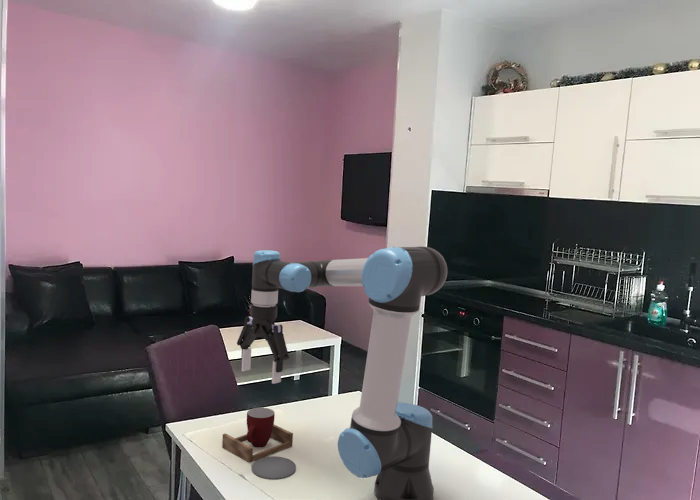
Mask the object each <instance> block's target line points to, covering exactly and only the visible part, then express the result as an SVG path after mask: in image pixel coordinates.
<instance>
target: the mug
mask: <svg viewBox="0 0 700 500" xmlns="http://www.w3.org/2000/svg"><path fill="white" fill-rule="evenodd" d="M275 414H276V413H275V411H274V410H273V409H271V408H269V407H268V408H267V407H253V408H251V409H248V411H247V413H246V427H247V430H246V431H247V433H246V434H247V440H246V441H247V442H248V443H251V446H252V448H255V449H263V448H265V447H266V446H267V445H268V443H269V441H270V439H271V438H270V437H271V434H272V429H273V425H275Z"/></svg>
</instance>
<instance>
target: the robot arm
mask: <svg viewBox="0 0 700 500" xmlns="http://www.w3.org/2000/svg"><path fill="white" fill-rule="evenodd" d="M447 265H448V264H447V262H446V260H445V258H444V256H443V255H442V254H441V253H440V252H439V251H438V250H436V249H434V248H432V247H429V246H391V247H386V248H380V249H378V250H376V251H374V252H373V253H372V254H371V255H369V256H368V257H365V258H346V259H344V258H343V259H342V258H341V259H325V260H315V261H314V260H313V261H312V260H311V261H309V260H307V261H306V260H305V261H287V260H286V261H284V260H281V253H280V252H279V251H276V250H268V249H267V250H264V249H263V250H262V249H260V250H257V251H255V252H254V254H253V261H252V278H251V297H250V303H251V305H250V316H245V317H244V324H243V327H242V329H241V332H240V334H239V336H238V339H237V342H236V344H237V346H240V349H241V372H247V371H251V366H252V365H251V364H252V363H251V362H252V361H251V360H252V347H251V346H252V345H253V343H254V342H255V340H256V339H257V337H261V338H263V339H264V340H265V341H267V344H268V346H269V349H270V351H271V353H272V355H273V358H274V360H272V370H271V371H272V373H271V384H274V385H275V384H278V383H282V372H283V369H284V361H286V360H289V359H290V355H289V352H288V348H287V344H286V341H285V337H284V333H283V332H284V331H283V327H284V326H283V325H282V324H278V325H277V324H275V320H276V319H277V317H278V305H277V304H278V303H279V302H278V301H279V298H278V297H279V289H282V290H286V291H288V292H291V293H293V292H294V293H301V292H304V291H305V290H307V289H311V288H321V287H323V288H324V287H325V288H326V287H364V289H363V290H364V291H363V292H364V293H365V295H366V296H367V297H368V305H369V307H370V308H371V309H372V311H373V314H372V320H371V326H370V333H369V334H370V335H369V340H368V341H369V342H368V346H367V347H368V348H367V355H366V361H365V369H364V374H363V375H364V377H363V383H362V389H361V395H360V402H359V406H358V407H356V408H355V409H354V410H353V411H352V413H351V419H350V425H349V427H347V428H345V429H344V430H343V431H341V433H340V434H339V436H338V439H337V449H338V454H339V457H340V459H341V461H342V463H343V465H344V466H345V468H346V469H347V470H348V471H349V472H350V473H351V474H352V475H353V476H356V477H357V478H361V479H367V478H371V477H373V476H374V477H375V476H376V478H375V481H374V486H373V487H374V489H373V492H374V496H375V497H376V498H377V500H434V494H435V493H434V492H435V490H434V485H433V480H432V477H431V471H430V457H431V456H430V455H431V444H432V435H433V434H432V433H433V432H432V431H433V429H434V428H433V427H434V426H433V415H432V413H431V411H430V410H428V409H427V408H426V407H422V406H421V405H418V404H417V405H416V404H413V403H408V402H403V401H402V402H401V401H400V402H398V401H399V395H400V388H401V383H402V382H401V381H402V377H403V371H404V364H405V358H406V351H407V346H408V338H409V333H410V328H411V320H412V317H413V316H415V315H416V314H418V313H419V312H420V308H421V307H420V306H421V301H422V297H425V296H430V295H433V294H435V293H436V292H438V291H439V290H440V289H441V288H443V286H444V284H445V283H446V280H447V277H448V266H447Z"/></svg>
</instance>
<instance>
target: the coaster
mask: <svg viewBox="0 0 700 500" xmlns="http://www.w3.org/2000/svg"><path fill="white" fill-rule="evenodd" d="M296 470H297V465H296V463H295V462H294V461H293V460H292V459H290V458H287V457H283V456H277V455H276V456H275V455H274V456H273V455H269V456H266V457H263V458H260V459H258V460H256V461H254V462H252V463H251V472H252V473H253V474H254V475H255V476H256V477H259V478H260V479H261V478H262V479H264V480H270V481H271V480H272V481H273V480H283V479H286V478H289V477H291V476H293V475H294V474H295V473H296Z"/></svg>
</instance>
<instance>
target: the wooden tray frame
mask: <svg viewBox="0 0 700 500" xmlns="http://www.w3.org/2000/svg"><path fill="white" fill-rule="evenodd" d="M270 439H273V440H275V441H276V442H279V443H281V444H278V445H276V446H273V447H270V448H268V449H265V450H263V451H260V452H257V453H254V447H253V446H252V447H251V446H250V445H248V444H247V443H244V442H246V441H247V433H246V434H244V435H240V436H238V437H233V436H231V435H229V434H227V433H223V434H222V439H221V440H222V441H221V448H222V449H224V450H226V451H227V452H229V453H231V454H233V455H235V456H236V457H238V458H240V459H241V460H243V461H245V462H247V463H249V464H252V463H254V462H255V461H256V460H258V459H260V458H263V457H269V456H272V455H274V454H277V453H278V452H282V451H285V450H287V449H289V448H292V447H293V440H294V433H293V432H291V431H289V430H287V429H285V428H282V427H280V426H278V425H276V424H274V425H273V429H272V434H271V437H270Z"/></svg>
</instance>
